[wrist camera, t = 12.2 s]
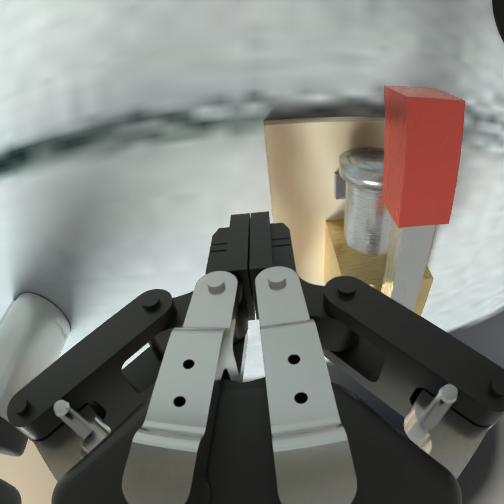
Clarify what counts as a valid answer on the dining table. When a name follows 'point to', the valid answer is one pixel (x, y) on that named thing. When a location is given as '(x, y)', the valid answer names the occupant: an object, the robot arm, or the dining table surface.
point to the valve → (362, 223)
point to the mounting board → (312, 179)
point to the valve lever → (417, 180)
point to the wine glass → (499, 15)
